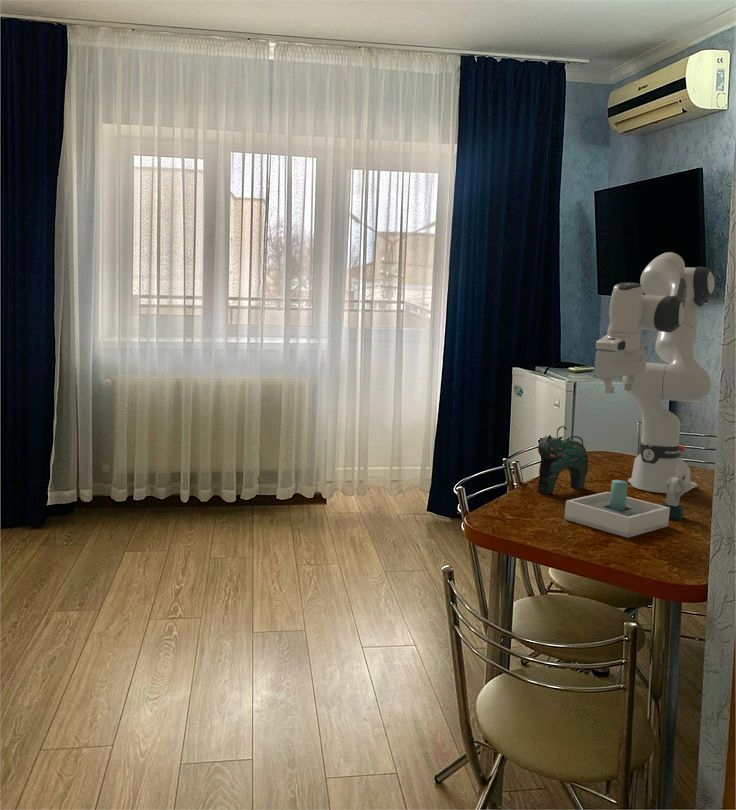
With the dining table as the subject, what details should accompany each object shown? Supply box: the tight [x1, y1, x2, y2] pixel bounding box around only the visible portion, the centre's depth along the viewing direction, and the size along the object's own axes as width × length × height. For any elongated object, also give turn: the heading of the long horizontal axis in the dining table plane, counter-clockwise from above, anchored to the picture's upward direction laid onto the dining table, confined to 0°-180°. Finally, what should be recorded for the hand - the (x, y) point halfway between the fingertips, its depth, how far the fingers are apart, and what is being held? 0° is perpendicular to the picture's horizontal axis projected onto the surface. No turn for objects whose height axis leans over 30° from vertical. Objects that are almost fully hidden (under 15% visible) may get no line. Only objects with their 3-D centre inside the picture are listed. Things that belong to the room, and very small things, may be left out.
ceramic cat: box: [537, 425, 589, 495], centre depth 252 cm, size 20×6×20 cm, turn 126°
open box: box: [563, 491, 670, 539], centre depth 221 cm, size 19×19×5 cm
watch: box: [661, 477, 686, 521], centre depth 229 cm, size 6×8×11 cm
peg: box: [609, 479, 629, 512], centre depth 220 cm, size 4×4×10 cm
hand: (619, 391), depth 233 cm, fingers open, 8 cm apart
